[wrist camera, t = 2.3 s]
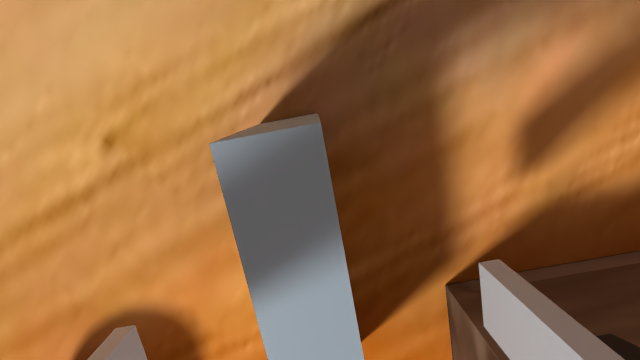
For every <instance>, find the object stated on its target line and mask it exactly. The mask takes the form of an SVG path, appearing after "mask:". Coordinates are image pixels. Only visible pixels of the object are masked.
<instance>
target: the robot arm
mask: <svg viewBox="0 0 640 360" xmlns="http://www.w3.org/2000/svg"><path fill="white" fill-rule="evenodd" d="M479 274H480V286H481V298H482V310H483V322H484V327H485V329H486V330H487V331H488V332H489V334H490V335H491V336H492V337H493V339H494V340H495V341H496V342H497V344H498V345H499V346H500V347H501V349H502V350H503V351H504V353H505V354H506V355H507V356H508V358H509V359H510V360H640V348H639V347H638V346H636V345H634V344H632V343H630V342H628V341H626V340H624V339H621V338H619V337H617V336H615V335H613V334H605V335H599V336H595V335H593V334H592V333H591V332H590V331H588V330H587V329H586V328H585V327H583V326H582V325H581V324H580V323H578V322H577V321H576V320H575V319H573V318H572V317H571V316H570V315H568V314H567V313H566V312H565V311H563V310H562V309H561V308H560V307H558V306H557V305H556V304H555V303H553V302H552V301H551V300H550V299H548V298H547V297H546V296H545V295H543V294H542V293H541V292H540V291H538V290H537V289H536V288H535V287H533V286H532V285H531V284H530V283H528V282H527V281H526V280H525V279H523V278H522V277H521V276H520V275H518V274H517V273H516V272H515V271H513V270H512V269H511V268H510V267H508V266H507V265H506V264H505V263H503V262H502V261H501V260H500V259H496V260H491V261H485V262H480V263H479ZM87 360H148V359H147V356H146V354H145V351H144V348H143V345H142V343H141V340H140V337H139V334H138V332H137V329H136V326H135V325H131V326H125V327H120V328H115V329H114V330H113V331H112V333H111V334H110V335H109V336H108V337H107V338H106V339H105V340H104V341H103V343H102V344H101V345H100V346H99V347H98V348H97V349H96V350H95V351H94V353H93V354H92V355H91V356H90V357H89V358H88V359H87Z"/></svg>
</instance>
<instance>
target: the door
mask: <svg viewBox="0 0 640 360" xmlns="http://www.w3.org/2000/svg"><path fill="white" fill-rule="evenodd" d="M209 144H210V148H211V152H212V155H213V159H214V163H215V166H216V170H217V174H218V177H219V181H220V185H221V188H222V192H223V196H224V199H225V203H226V207H227V211H228V214H229V218H230V222H231V225H232V229H233V233H234V236H235V240H236V244H237V247H238V251H239V255H240V258H241V262H242V266H243V270H244V273H245V277H246V281H247V284H248V288H249V292H250V295H251V299H252V303H253V306H254V310H255V314H256V317H257V321H258V325H259V329H260V332H261V336H262V340H263V343H264V347H265V351H266V354H267V358H268V360H364V356H363V351H362V345H361V340H360V334H359V329H358V323H357V318H356V312H355V307H354V301H353V296H352V291H351V285H350V280H349V274H348V269H347V263H346V258H345V252H344V247H343V241H342V236H341V230H340V225H339V219H338V214H337V209H336V203H335V198H334V192H333V187H332V181H331V176H330V170H329V165H328V159H327V154H326V148H325V143H324V137H323V132H322V126H321V122H320V119H319V116H318V113H314V114H309V115H304V116H299V117H293V118H288V119H283V120H278V121H273V122H267V123H262V124H258V125H256V126H253V127H250V128H248V129H245V130H243V131H240V132H238V133H235V134H233V135H230V136H227V137H225V138H222V139H220V140H217V141H215V142H212V143H209Z"/></svg>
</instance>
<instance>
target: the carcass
mask: <svg viewBox="0 0 640 360" xmlns="http://www.w3.org/2000/svg"><path fill="white" fill-rule="evenodd" d="M517 274H518V275H520V276H521V277H522V278H523V279H525V280H526V281H527V282H528V283H530V284H531V285H532V286H533V287H535V288H536V289H537V290H538V291H540V292H541V293H542V294H543V295H545V296H546V297H547V298H548V299H550V300H551V301H552V302H553V303H555V304H556V305H557V306H558V307H560V308H561V309H562V310H563V311H565V312H566V313H567V314H568V315H570V316H571V317H572V318H573V319H575V320H576V321H577V322H578V323H580V324H581V325H582V326H583V327H585V328H586V329H587V330H588V331H590V332H591V333H592V334H593V335H595V336H599V335H605V334H613V335H615V336H617V337H619V338H621V339H624V340H626V341H628V342H630V343H632V344H634V345H636V346H638V347H639V348H640V251H637V252H632V253H626V254H620V255H615V256H609V257H603V258H597V259H592V260H586V261H580V262H574V263H569V264H563V265H557V266H552V267H546V268H540V269H534V270H529V271H523V272H517ZM445 286H446V296H447V306H448V316H449V326H450V336H451V346H452V355H453V360H510V359H509V358H508V356H507V355H506V354H505V353H504V351H503V350H502V349H501V347H500V346H499V345H498V344H497V342H496V341H495V340H494V339H493V337H492V336H491V335H490V334H489V332H488V331H487V330H486V329H485V327H484V322H483V310H482V298H481V286H480V279H477V280H471V281H466V282H460V283H454V284H448V285H445Z"/></svg>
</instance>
